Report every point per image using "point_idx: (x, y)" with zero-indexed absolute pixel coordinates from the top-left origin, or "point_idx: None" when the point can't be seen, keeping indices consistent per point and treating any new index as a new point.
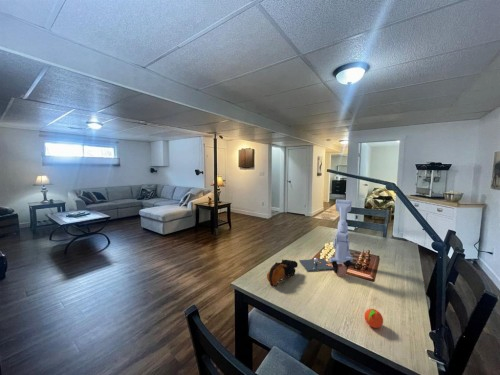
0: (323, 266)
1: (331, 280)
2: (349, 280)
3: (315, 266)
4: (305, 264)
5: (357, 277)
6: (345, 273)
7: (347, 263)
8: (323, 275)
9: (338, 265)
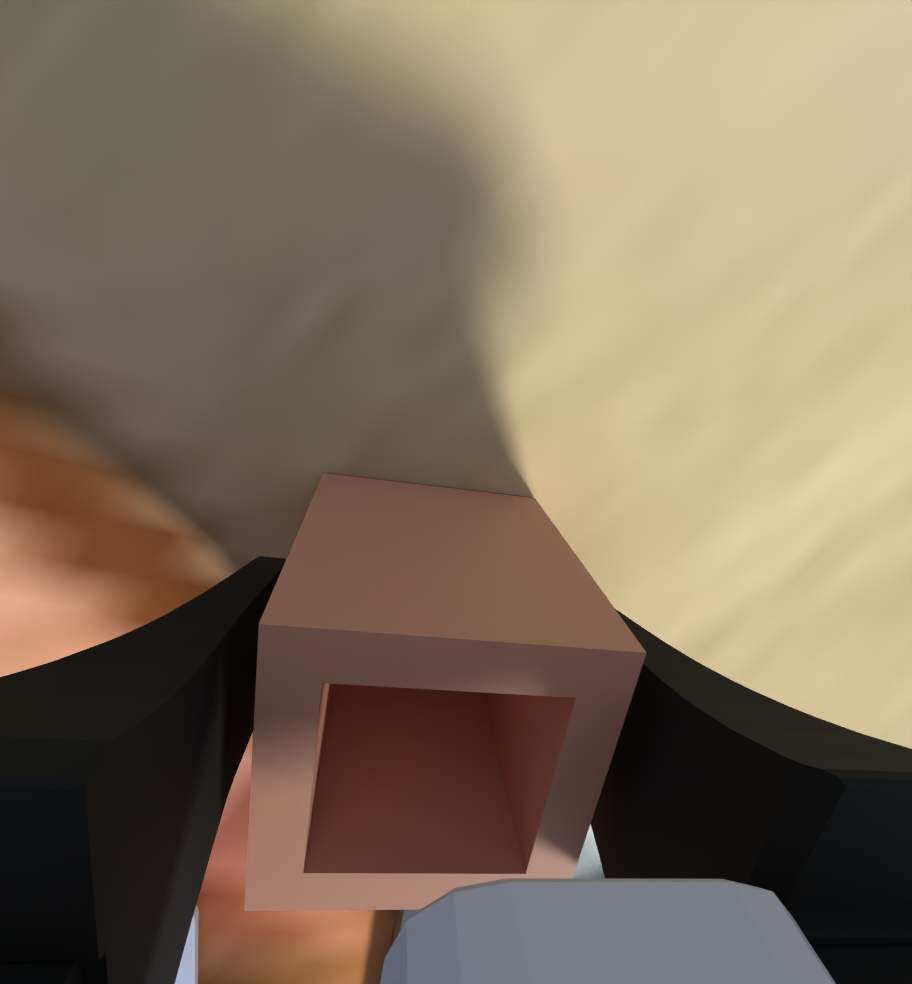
0: (590, 878)
1: (814, 400)
2: (381, 257)
3: None
4: None
5: (21, 327)
6: (339, 504)
7: (126, 783)
8: (798, 618)
9: (437, 812)
